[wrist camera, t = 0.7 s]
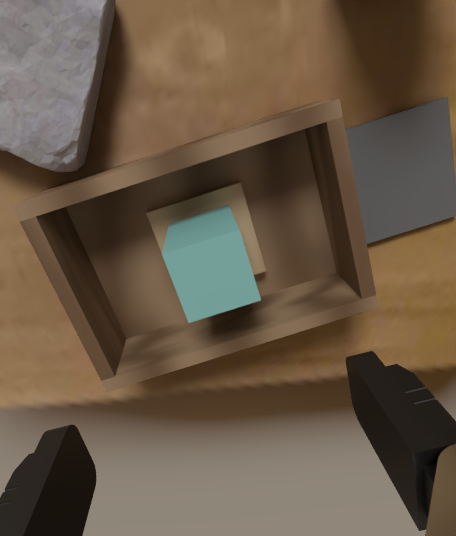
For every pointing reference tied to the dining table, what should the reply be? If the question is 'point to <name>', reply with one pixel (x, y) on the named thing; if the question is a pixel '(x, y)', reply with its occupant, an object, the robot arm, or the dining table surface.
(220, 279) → the block
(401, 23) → the dining table surface
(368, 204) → the mat
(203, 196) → the crate
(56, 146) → the stone block
